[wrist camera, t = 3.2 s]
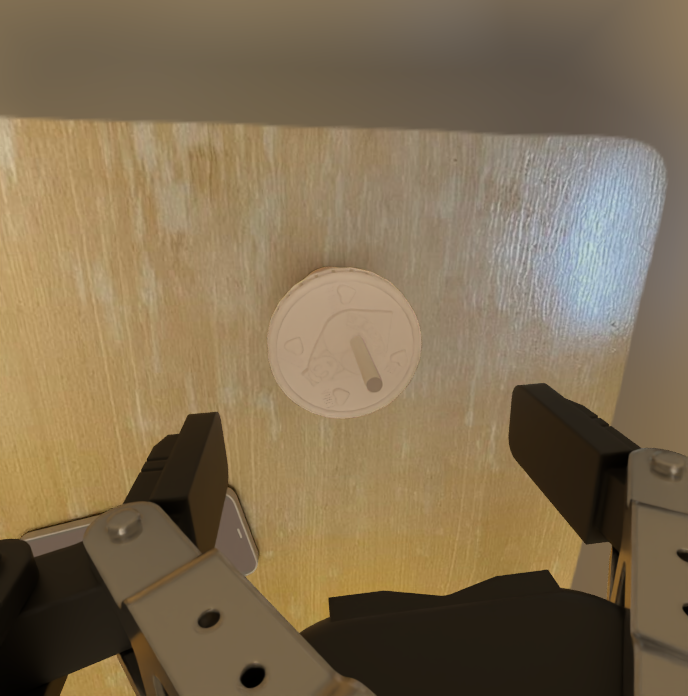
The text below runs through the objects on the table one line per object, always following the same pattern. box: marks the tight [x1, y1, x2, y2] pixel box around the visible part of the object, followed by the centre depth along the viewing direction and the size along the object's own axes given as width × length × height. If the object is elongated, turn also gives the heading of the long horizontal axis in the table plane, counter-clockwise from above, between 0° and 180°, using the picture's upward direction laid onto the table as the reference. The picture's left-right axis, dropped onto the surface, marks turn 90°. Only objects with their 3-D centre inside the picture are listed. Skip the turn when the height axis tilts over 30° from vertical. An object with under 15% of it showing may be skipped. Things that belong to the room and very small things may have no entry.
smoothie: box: [267, 267, 422, 419], centre depth 21 cm, size 6×6×14 cm
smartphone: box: [20, 487, 258, 576], centre depth 31 cm, size 7×1×15 cm
